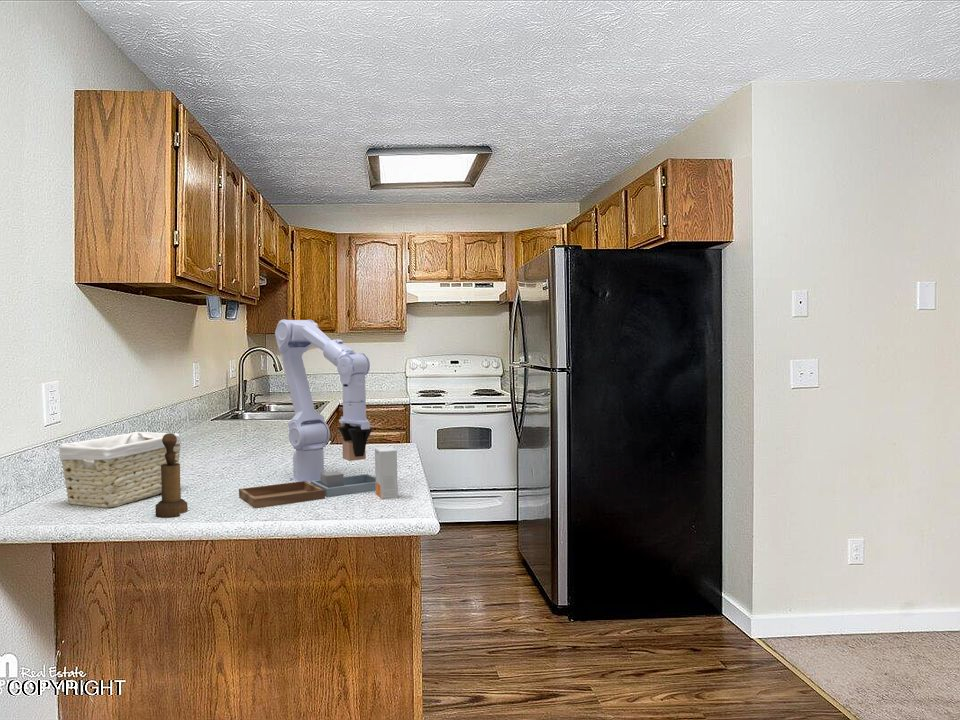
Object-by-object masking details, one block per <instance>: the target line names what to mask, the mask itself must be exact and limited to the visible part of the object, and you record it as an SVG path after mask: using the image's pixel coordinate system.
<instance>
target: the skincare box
mask: <svg viewBox="0 0 960 720" xmlns="http://www.w3.org/2000/svg"><path fill="white" fill-rule="evenodd" d="M397 452H398V451H397V449H395V448H394V447H392V446H379V447H377V446H376V447H374V466H375V467H374V469H375V475H374V477H375V478H376V491H375V495H376V496H377V497H378V498H379V499H380V500H387V499H388V500H390V499H398V498H399V494H398V493H399V492H398V491H399V490H398V453H397Z"/></svg>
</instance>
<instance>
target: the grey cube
mask: <svg viewBox="0 0 960 720" xmlns="http://www.w3.org/2000/svg"><path fill="white" fill-rule="evenodd" d="M344 477H345V476H344V473H342V472H340V471H336V470H335V471H328V472H324V473H320V480H321V484H322V485H324V486H326V487H328V488H332V487H340V486H344Z"/></svg>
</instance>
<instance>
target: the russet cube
mask: <svg viewBox="0 0 960 720" xmlns="http://www.w3.org/2000/svg"><path fill="white" fill-rule="evenodd" d="M366 452H367V450H366V447H365V452H364V456H359V457H355V455H354V450H353V443H352V440H351V441H344V440H343V441H342V459H343V460H346V461H349V462H352V461H359V460H360V461H361V460H366V459H367V458H366V456H367V455H366V454H367V453H366Z"/></svg>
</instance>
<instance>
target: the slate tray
mask: <svg viewBox="0 0 960 720" xmlns="http://www.w3.org/2000/svg"><path fill="white" fill-rule="evenodd" d="M309 483H311V484H313V485H315V486H317V487H319V488H321V489H323V490H325V498H332V497H339V496H347V495H348V496H349V495H353V494H355V495H356V494H361V493H369V492H376V478H375V475H372V474H368V473H363V474H356V475H347V476H344V486H340V487H332V488H328V487H326V486H324V485H322V484H321V480H314V481H310V482H309Z"/></svg>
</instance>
